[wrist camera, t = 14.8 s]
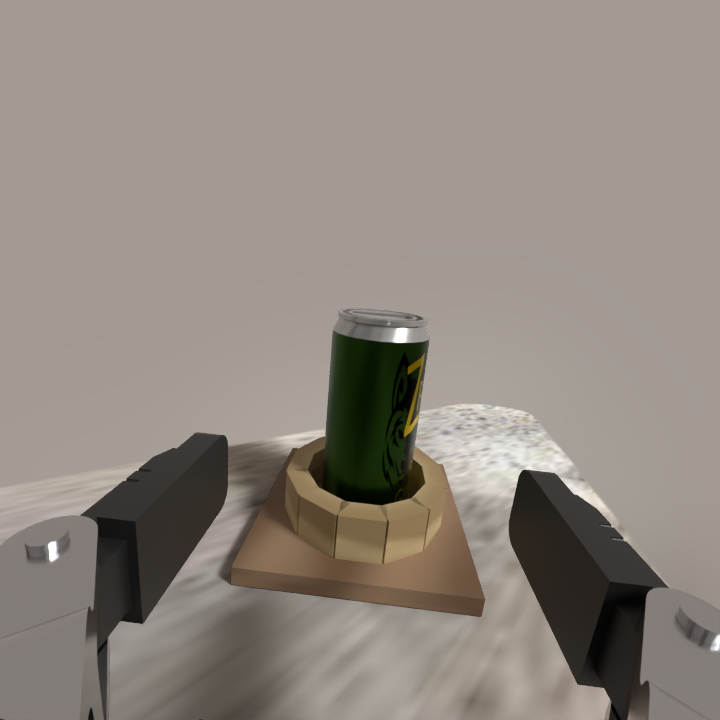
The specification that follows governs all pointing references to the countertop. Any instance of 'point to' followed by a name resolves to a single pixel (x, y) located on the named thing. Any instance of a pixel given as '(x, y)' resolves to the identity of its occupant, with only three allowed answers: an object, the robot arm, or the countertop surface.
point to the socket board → (361, 541)
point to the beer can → (373, 404)
